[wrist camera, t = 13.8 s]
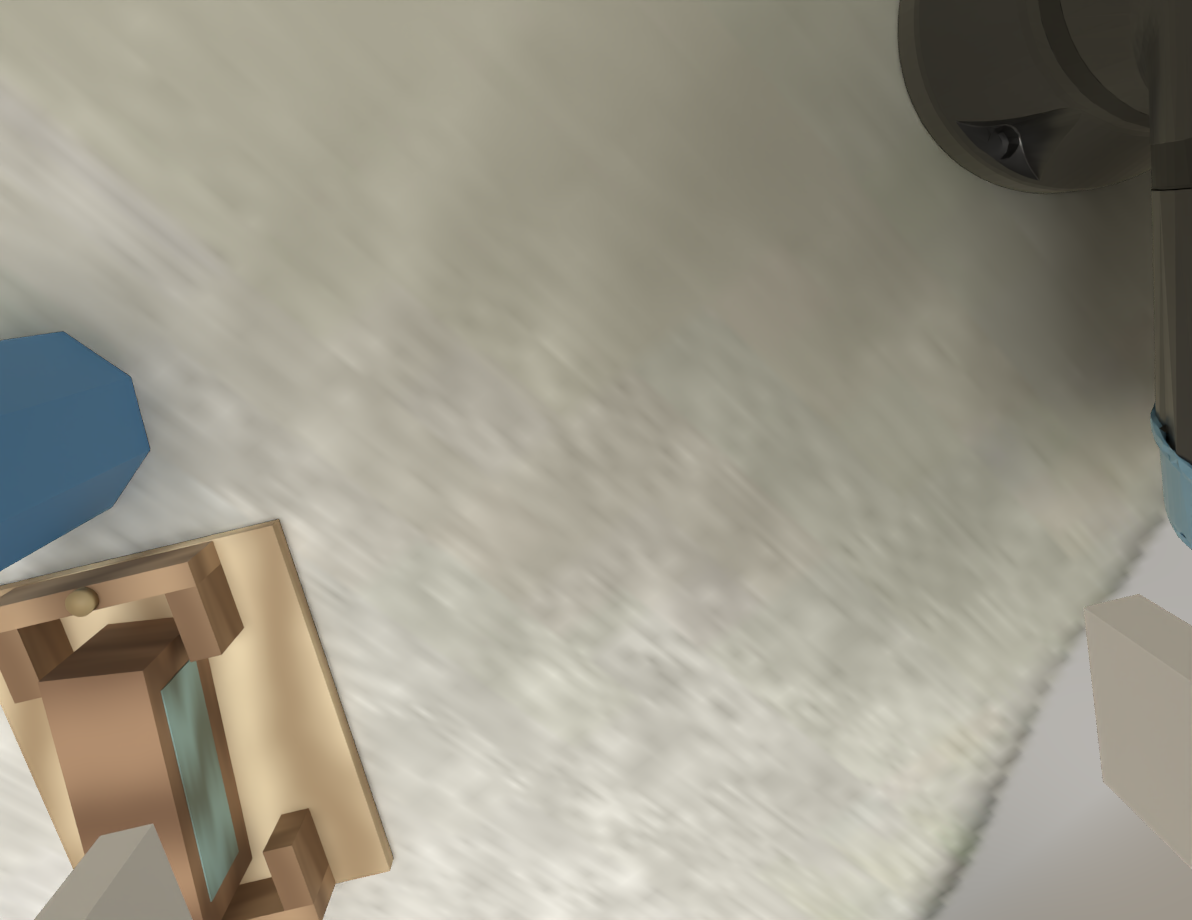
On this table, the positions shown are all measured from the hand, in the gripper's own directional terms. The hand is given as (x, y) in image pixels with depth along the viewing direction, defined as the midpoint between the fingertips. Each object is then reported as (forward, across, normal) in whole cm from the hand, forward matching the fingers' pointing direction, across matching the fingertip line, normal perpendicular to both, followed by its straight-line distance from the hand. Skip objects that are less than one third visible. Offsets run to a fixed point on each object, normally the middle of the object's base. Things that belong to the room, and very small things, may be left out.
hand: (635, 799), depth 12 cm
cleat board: (+32, -24, -12) cm, 42 cm away
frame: (+31, -24, -12) cm, 41 cm away
